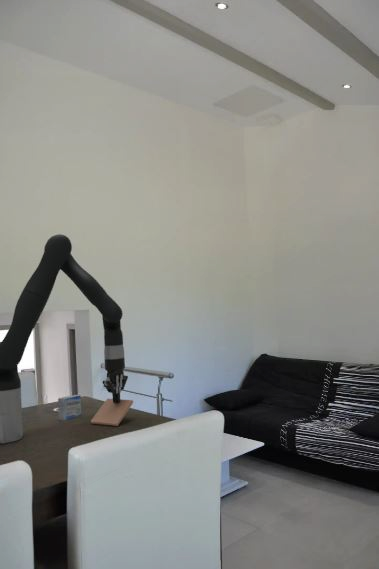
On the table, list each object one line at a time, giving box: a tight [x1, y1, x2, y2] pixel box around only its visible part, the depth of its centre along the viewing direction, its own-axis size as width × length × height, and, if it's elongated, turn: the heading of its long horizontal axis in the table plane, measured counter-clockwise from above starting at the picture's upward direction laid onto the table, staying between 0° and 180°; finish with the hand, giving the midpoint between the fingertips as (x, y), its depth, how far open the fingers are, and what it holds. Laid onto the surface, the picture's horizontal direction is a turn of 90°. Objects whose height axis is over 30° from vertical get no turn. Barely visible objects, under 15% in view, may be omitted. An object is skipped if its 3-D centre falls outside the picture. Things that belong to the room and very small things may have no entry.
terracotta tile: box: [90, 398, 134, 427], centre depth 176 cm, size 1×12×12 cm
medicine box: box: [57, 394, 82, 421], centre depth 187 cm, size 8×4×9 cm, turn 143°
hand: (116, 402), depth 178 cm, fingers closed
